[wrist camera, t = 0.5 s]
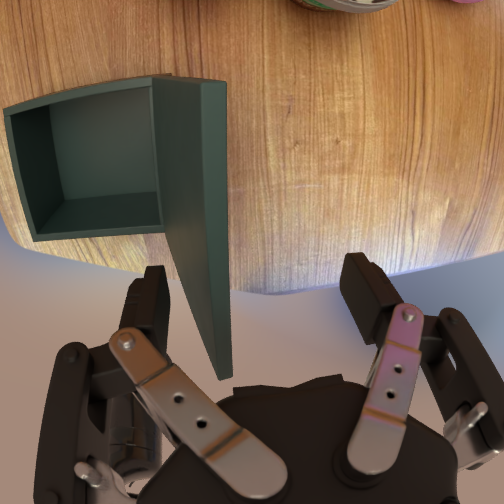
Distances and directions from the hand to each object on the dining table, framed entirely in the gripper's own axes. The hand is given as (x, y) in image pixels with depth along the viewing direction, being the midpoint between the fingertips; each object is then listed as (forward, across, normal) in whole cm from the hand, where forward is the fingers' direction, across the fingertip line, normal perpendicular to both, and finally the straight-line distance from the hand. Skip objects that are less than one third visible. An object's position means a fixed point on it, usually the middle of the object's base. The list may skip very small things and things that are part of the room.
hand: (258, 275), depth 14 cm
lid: (+6, -4, +1) cm, 7 cm away
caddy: (+23, -13, +1) cm, 26 cm away
